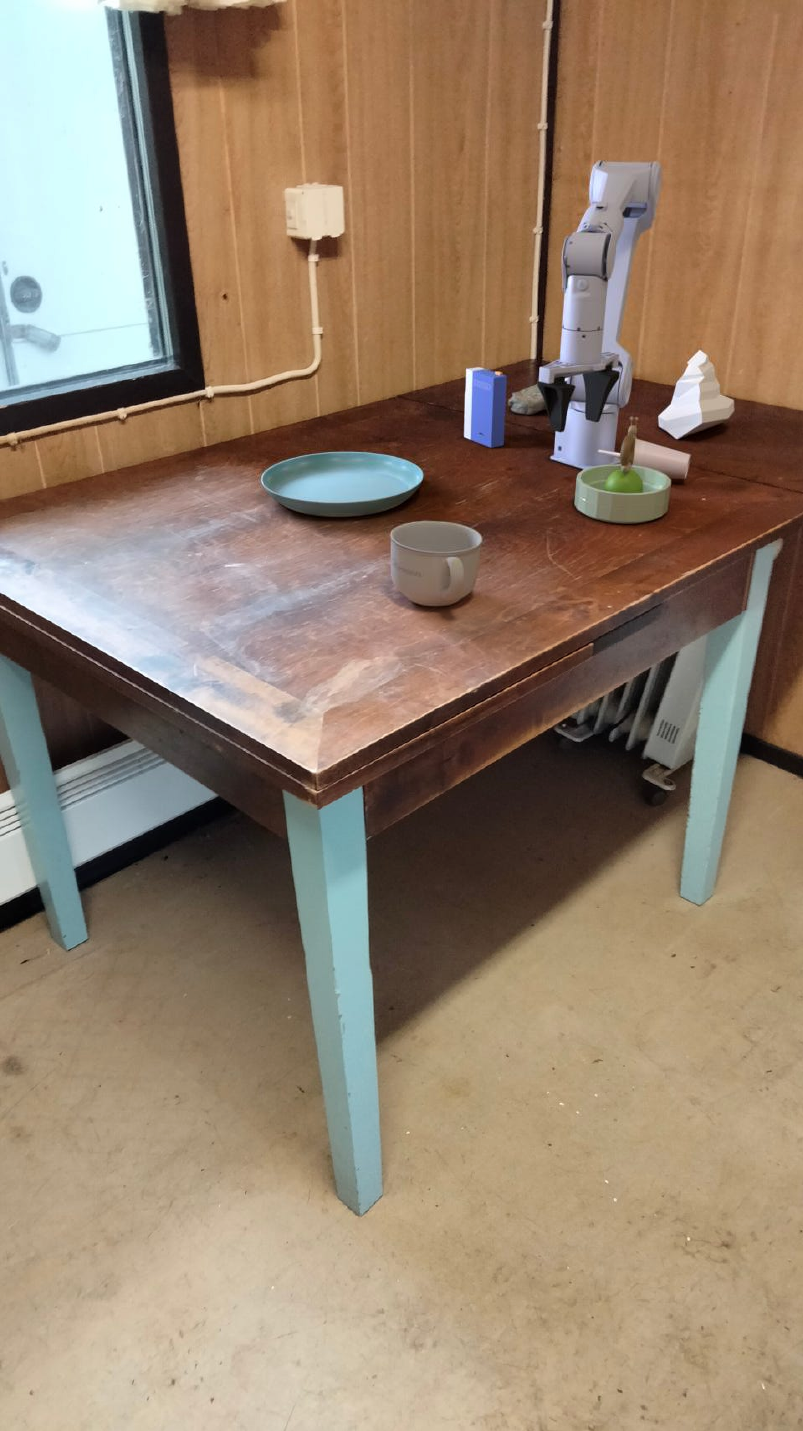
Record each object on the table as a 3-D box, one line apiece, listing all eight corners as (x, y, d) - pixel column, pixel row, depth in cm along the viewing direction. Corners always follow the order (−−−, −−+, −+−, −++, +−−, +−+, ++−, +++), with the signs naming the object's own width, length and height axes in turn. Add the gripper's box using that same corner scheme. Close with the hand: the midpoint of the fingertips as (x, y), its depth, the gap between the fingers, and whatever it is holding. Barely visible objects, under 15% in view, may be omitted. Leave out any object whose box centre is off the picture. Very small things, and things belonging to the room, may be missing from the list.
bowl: (555, 507, 151) (557, 477, 148) (614, 487, 158) (617, 458, 155) (626, 532, 142) (630, 501, 140) (685, 510, 149) (690, 480, 147)
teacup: (387, 579, 129) (386, 518, 125) (473, 576, 130) (475, 515, 126) (396, 629, 117) (396, 564, 113) (491, 625, 118) (493, 560, 114)
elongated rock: (493, 417, 196) (538, 429, 191) (495, 389, 193) (540, 400, 188) (588, 371, 218) (630, 381, 213) (590, 346, 215) (633, 355, 210)
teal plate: (456, 493, 156) (456, 471, 154) (341, 538, 141) (340, 515, 139) (344, 460, 170) (344, 440, 168) (229, 498, 155) (227, 476, 153)
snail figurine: (644, 499, 152) (654, 417, 145) (638, 514, 146) (648, 430, 140) (607, 495, 153) (615, 414, 147) (600, 510, 148) (608, 426, 142)
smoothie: (694, 444, 159) (605, 429, 163) (690, 446, 154) (598, 431, 158) (684, 486, 162) (597, 470, 166) (680, 489, 156) (590, 473, 160)
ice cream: (640, 442, 182) (636, 357, 178) (688, 432, 192) (685, 352, 187) (702, 438, 173) (699, 349, 169) (749, 428, 182) (748, 343, 178)
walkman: (503, 445, 176) (507, 373, 170) (490, 448, 175) (493, 375, 169) (476, 434, 182) (478, 364, 176) (463, 436, 181) (465, 366, 174)
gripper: (569, 339, 136) (561, 441, 143) (639, 324, 144) (628, 421, 151) (530, 331, 141) (524, 430, 148) (600, 317, 149) (592, 412, 156)
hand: (575, 425), depth 150 cm, fingers open, 7 cm apart
